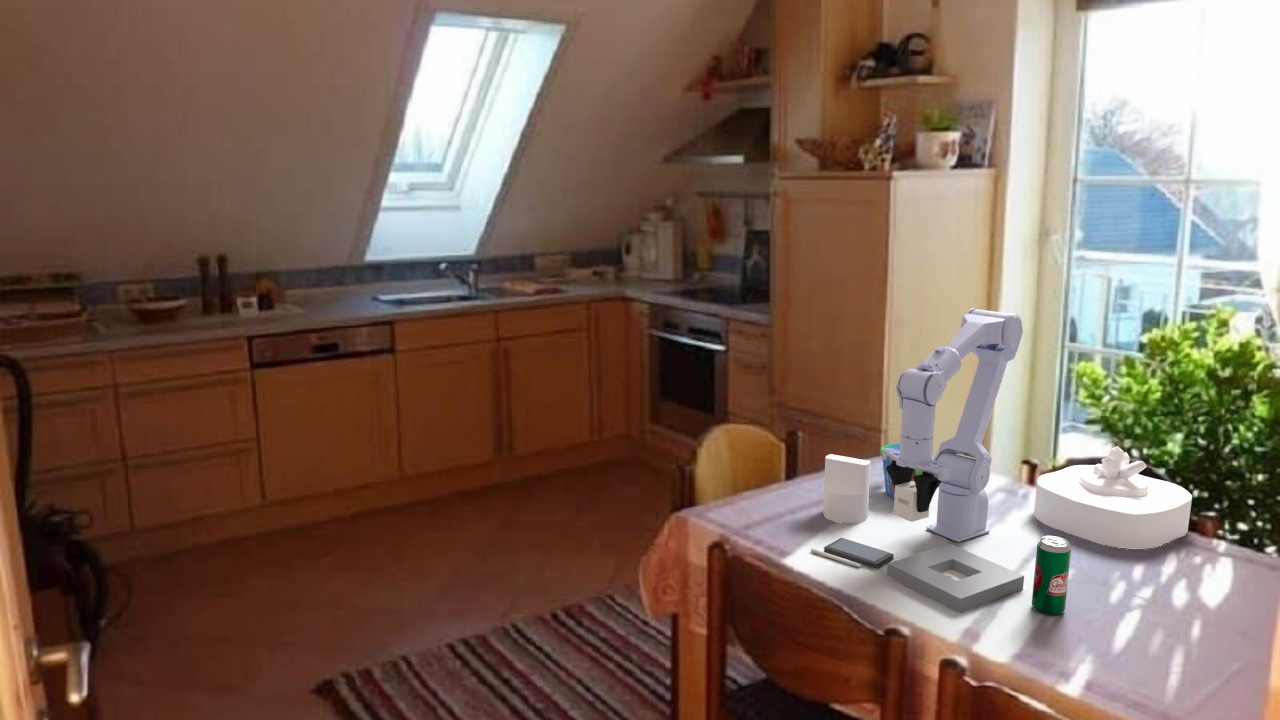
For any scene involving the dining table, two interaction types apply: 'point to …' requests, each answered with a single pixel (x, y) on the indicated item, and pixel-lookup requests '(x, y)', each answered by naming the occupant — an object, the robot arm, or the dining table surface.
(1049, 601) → the soda can
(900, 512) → the brick
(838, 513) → the white rounded block
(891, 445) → the snack cup
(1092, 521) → the tissue box
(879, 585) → the dining table surface
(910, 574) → the socket plate
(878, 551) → the tablet with stylus
